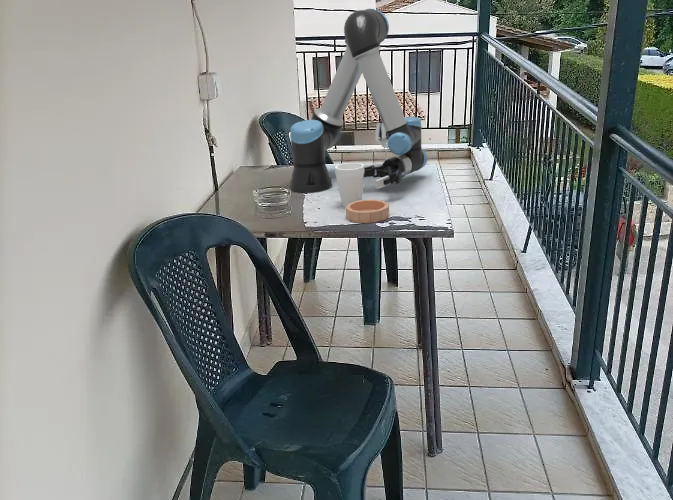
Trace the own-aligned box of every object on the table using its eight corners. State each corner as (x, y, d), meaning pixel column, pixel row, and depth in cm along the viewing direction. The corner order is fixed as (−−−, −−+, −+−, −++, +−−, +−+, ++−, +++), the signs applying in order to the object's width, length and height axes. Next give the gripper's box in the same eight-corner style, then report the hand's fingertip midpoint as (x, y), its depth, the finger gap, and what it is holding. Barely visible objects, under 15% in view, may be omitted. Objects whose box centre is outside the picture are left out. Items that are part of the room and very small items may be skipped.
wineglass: (397, 169, 249) (396, 123, 243) (377, 170, 250) (374, 124, 243) (396, 164, 257) (394, 119, 250) (376, 165, 257) (374, 120, 251)
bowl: (338, 219, 197) (337, 208, 195) (364, 207, 206) (363, 197, 204) (371, 225, 189) (371, 214, 187) (397, 213, 198) (396, 203, 196)
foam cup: (345, 211, 204) (343, 171, 199) (332, 204, 211) (329, 166, 207) (371, 205, 208) (369, 166, 203) (357, 198, 215) (355, 161, 211)
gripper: (426, 181, 218) (391, 198, 203) (368, 174, 233) (331, 188, 218) (426, 160, 215) (390, 175, 200) (367, 153, 230) (329, 167, 215)
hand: (359, 182), depth 209 cm, fingers open, 13 cm apart
